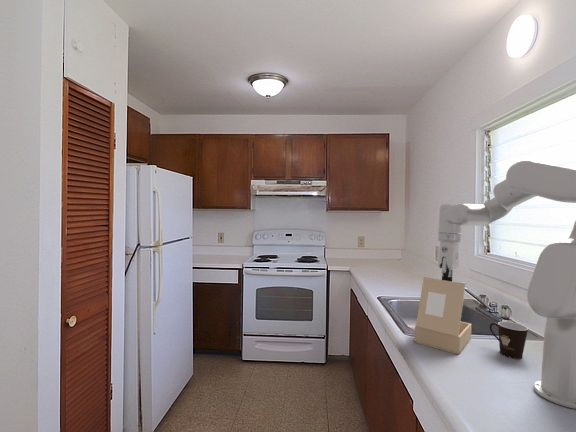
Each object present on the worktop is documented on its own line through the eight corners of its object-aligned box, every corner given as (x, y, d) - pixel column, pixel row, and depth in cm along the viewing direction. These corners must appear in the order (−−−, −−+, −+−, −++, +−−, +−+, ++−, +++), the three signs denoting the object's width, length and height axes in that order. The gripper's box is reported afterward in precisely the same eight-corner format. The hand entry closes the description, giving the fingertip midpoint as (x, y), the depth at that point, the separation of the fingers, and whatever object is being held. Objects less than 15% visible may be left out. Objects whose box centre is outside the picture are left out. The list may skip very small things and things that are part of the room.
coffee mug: (532, 361, 114) (534, 331, 114) (505, 359, 114) (507, 329, 114) (510, 346, 126) (512, 319, 125) (486, 345, 126) (488, 318, 126)
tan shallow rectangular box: (470, 339, 131) (471, 323, 131) (459, 354, 117) (459, 337, 117) (429, 329, 140) (430, 314, 140) (414, 342, 126) (415, 325, 126)
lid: (465, 284, 121) (464, 283, 121) (458, 336, 117) (457, 336, 116) (424, 277, 130) (423, 277, 129) (416, 326, 126) (415, 325, 125)
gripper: (454, 239, 120) (452, 292, 120) (465, 237, 131) (462, 285, 132) (432, 237, 125) (429, 288, 125) (444, 235, 136) (441, 282, 137)
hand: (446, 287), depth 129 cm, fingers closed
